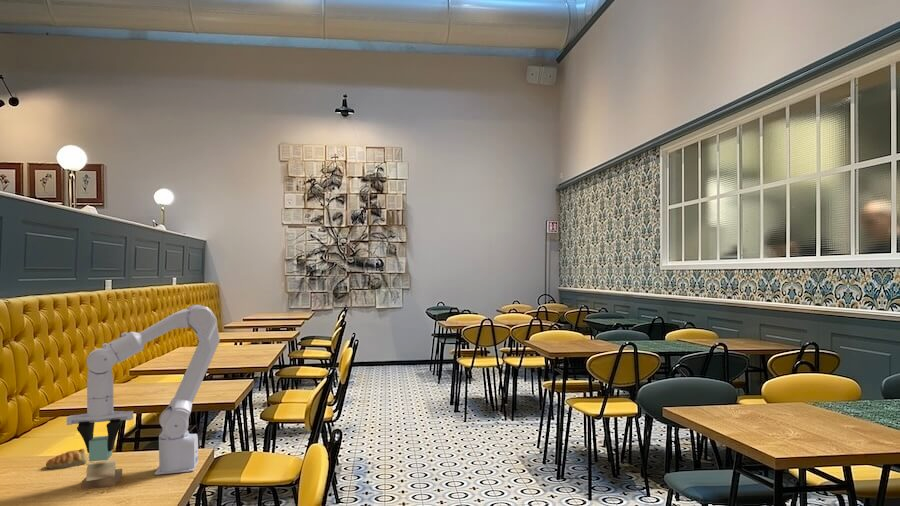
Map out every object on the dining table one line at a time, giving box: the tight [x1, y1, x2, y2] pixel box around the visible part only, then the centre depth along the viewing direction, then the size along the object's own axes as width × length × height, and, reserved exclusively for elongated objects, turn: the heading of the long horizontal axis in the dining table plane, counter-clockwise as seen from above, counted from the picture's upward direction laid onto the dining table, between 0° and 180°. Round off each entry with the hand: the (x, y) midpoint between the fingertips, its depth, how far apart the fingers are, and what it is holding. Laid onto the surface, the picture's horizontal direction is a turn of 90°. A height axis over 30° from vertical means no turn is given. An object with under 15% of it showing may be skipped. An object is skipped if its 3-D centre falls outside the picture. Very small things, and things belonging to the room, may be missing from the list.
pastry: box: [45, 448, 87, 470], centre depth 160 cm, size 9×7×4 cm
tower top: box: [85, 459, 116, 481], centre depth 145 cm, size 6×6×2 cm
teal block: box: [88, 435, 113, 463], centre depth 146 cm, size 4×4×5 cm
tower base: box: [81, 468, 123, 490], centre depth 146 cm, size 7×7×2 cm
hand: (100, 450), depth 146 cm, fingers closed on teal block, 4 cm apart
